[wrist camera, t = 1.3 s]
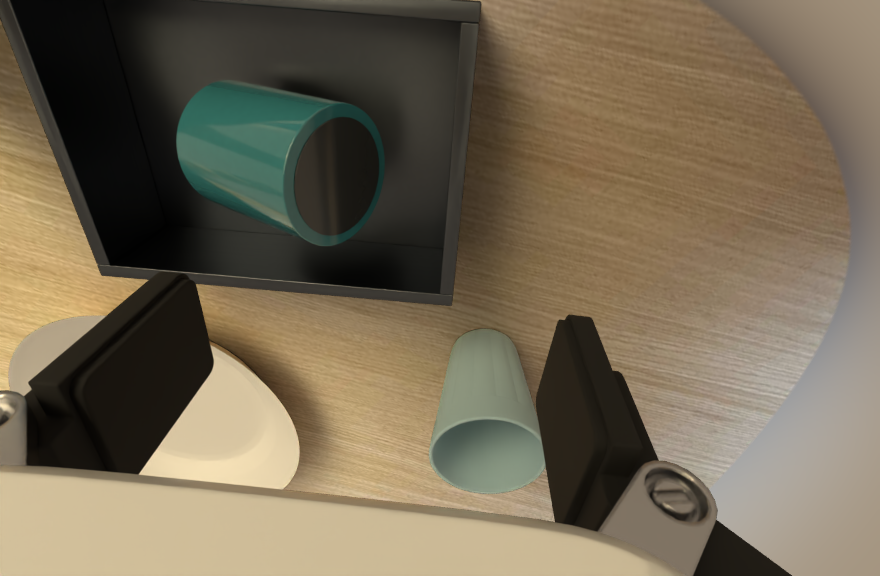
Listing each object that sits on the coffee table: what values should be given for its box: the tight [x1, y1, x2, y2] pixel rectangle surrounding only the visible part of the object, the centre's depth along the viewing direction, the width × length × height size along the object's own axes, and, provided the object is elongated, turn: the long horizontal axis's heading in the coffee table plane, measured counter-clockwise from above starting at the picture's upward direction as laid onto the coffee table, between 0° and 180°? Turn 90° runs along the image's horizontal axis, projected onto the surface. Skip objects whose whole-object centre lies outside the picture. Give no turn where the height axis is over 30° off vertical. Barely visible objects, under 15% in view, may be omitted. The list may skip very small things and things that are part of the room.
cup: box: [429, 329, 546, 494], centre depth 33 cm, size 8×8×10 cm
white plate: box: [8, 316, 300, 490], centre depth 41 cm, size 25×25×4 cm
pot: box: [176, 80, 385, 246], centre depth 24 cm, size 7×7×8 cm
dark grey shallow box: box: [0, 0, 481, 306], centre depth 26 cm, size 16×22×7 cm
